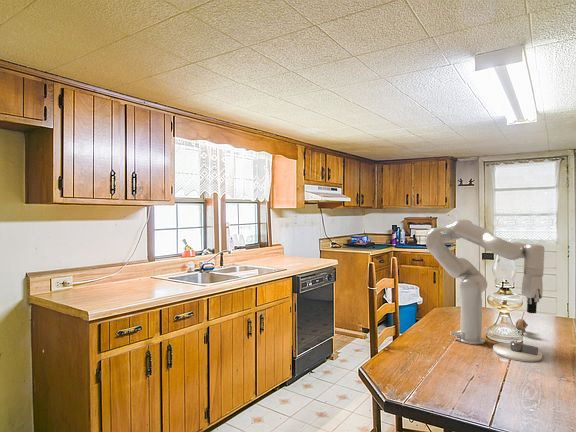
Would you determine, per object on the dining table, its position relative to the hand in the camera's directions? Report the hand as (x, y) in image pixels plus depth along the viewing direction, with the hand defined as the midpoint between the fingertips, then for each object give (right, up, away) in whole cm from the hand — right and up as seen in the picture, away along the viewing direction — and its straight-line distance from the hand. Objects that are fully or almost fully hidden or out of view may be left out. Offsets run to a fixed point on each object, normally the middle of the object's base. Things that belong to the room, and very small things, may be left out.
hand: (531, 312), depth 178 cm
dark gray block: (-5, -17, -2) cm, 17 cm away
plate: (-7, -18, 0) cm, 19 cm away
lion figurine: (+12, -18, +29) cm, 36 cm away
